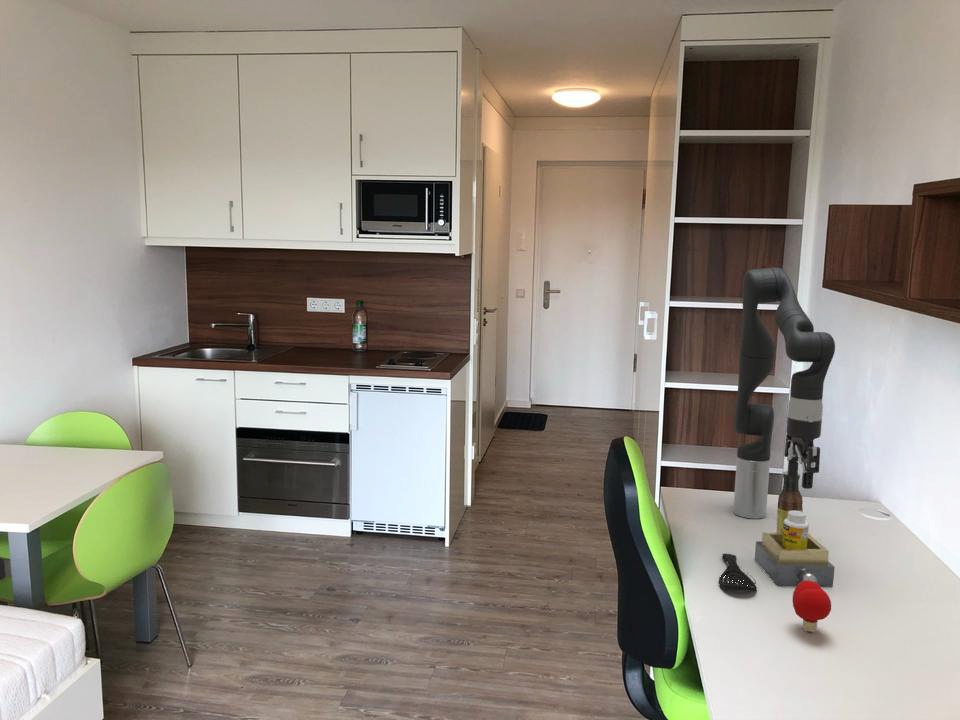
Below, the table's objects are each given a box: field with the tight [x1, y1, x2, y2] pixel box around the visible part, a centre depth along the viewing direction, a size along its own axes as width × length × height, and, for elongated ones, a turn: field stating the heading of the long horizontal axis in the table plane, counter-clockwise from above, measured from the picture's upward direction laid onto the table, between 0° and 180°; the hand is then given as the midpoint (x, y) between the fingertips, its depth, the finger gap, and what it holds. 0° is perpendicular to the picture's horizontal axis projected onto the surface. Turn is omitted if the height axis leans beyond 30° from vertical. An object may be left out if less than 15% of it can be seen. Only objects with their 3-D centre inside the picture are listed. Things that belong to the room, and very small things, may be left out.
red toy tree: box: [792, 581, 832, 634], centre depth 156 cm, size 9×7×10 cm
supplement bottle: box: [782, 511, 810, 549], centre depth 184 cm, size 6×6×10 cm
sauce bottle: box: [776, 470, 804, 533], centre depth 202 cm, size 6×6×20 cm
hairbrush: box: [718, 553, 758, 592], centre depth 183 cm, size 8×4×25 cm
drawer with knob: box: [754, 532, 835, 588], centre depth 183 cm, size 18×13×8 cm
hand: (799, 482), depth 182 cm, fingers open, 8 cm apart
